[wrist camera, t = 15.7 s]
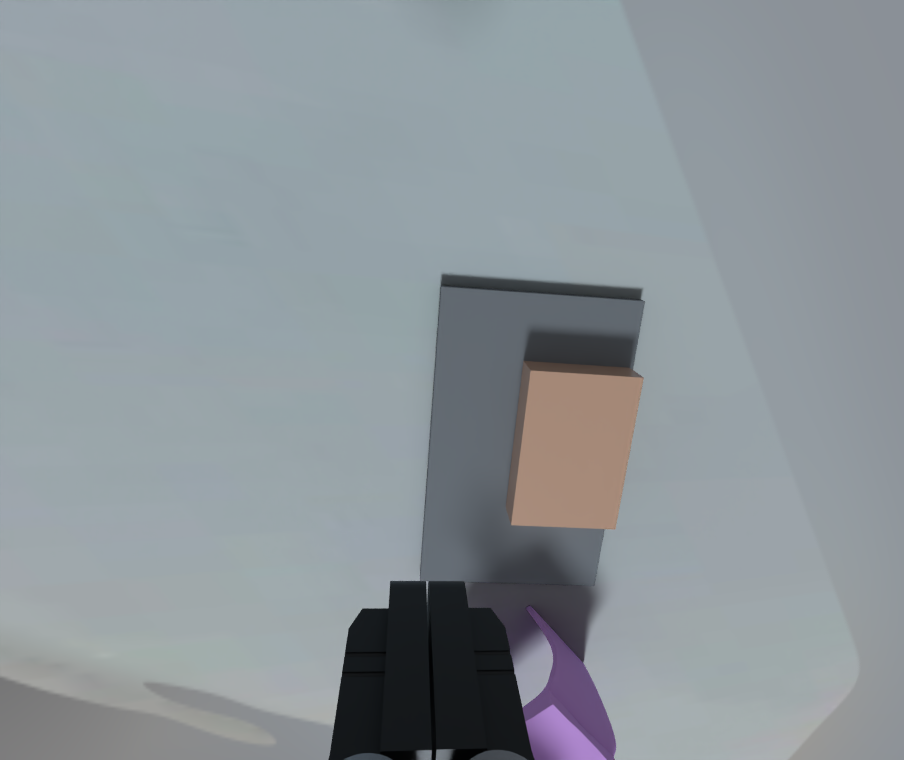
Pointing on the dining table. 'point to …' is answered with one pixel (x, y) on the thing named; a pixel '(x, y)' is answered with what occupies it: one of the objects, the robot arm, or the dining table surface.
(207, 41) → the dining table surface
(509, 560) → the mat
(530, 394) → the block
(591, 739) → the toy chair
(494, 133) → the dining table surface
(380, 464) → the dining table surface
